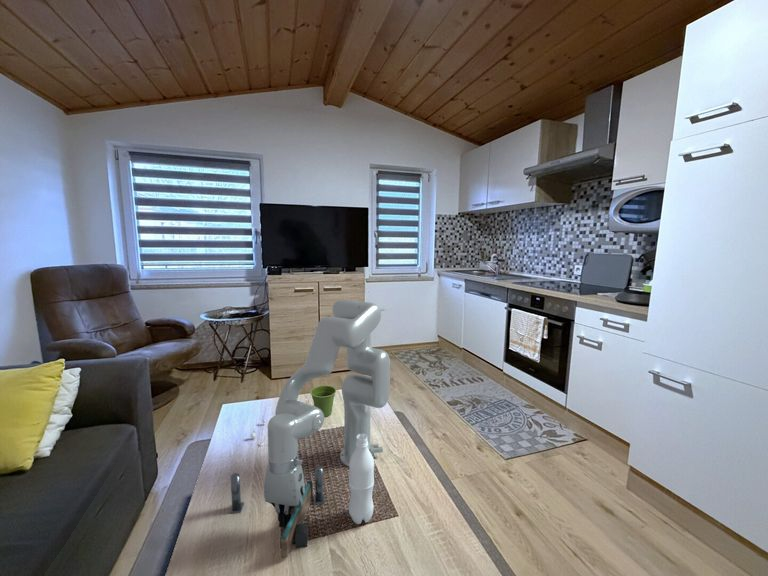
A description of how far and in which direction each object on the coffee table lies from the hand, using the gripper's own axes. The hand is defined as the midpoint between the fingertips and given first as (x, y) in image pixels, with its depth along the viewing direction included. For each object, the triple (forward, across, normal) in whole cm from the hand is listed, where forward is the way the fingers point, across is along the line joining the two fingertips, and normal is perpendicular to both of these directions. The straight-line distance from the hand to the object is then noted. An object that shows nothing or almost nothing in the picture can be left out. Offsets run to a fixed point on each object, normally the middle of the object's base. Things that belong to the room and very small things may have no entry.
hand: (284, 523), depth 89 cm
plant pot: (+2, +12, -61) cm, 62 cm away
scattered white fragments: (+3, +26, -42) cm, 50 cm away
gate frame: (+2, +4, -1) cm, 5 cm away
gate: (+1, -3, -2) cm, 4 cm away
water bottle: (+2, -19, -9) cm, 21 cm away
